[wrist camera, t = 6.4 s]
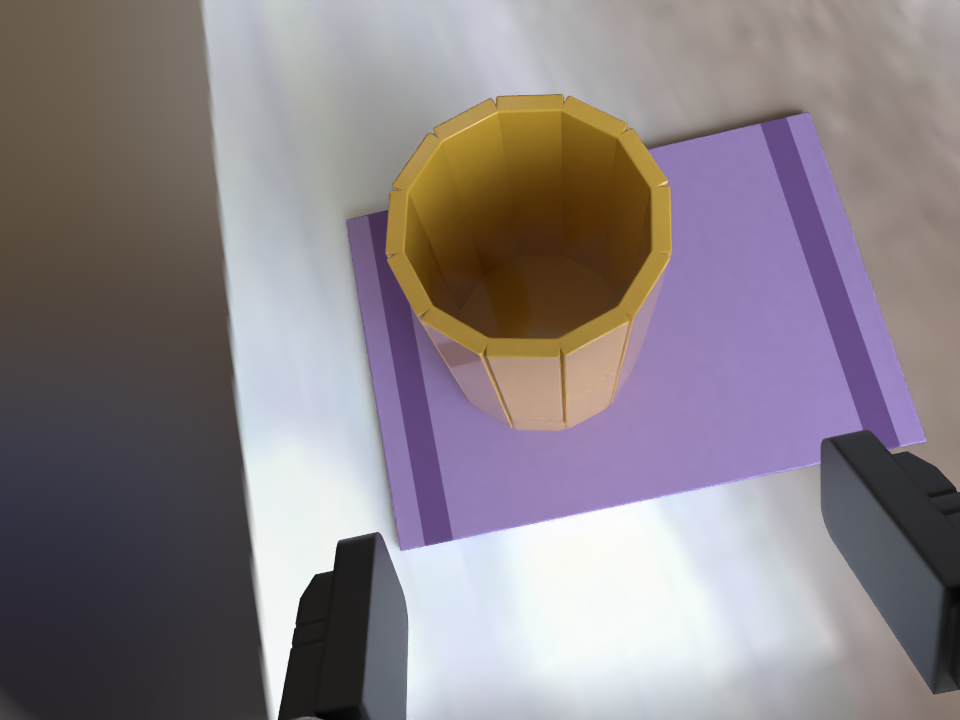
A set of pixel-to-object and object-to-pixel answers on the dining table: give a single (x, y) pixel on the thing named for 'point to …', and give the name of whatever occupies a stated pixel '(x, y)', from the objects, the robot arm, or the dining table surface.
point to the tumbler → (533, 254)
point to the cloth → (661, 357)
